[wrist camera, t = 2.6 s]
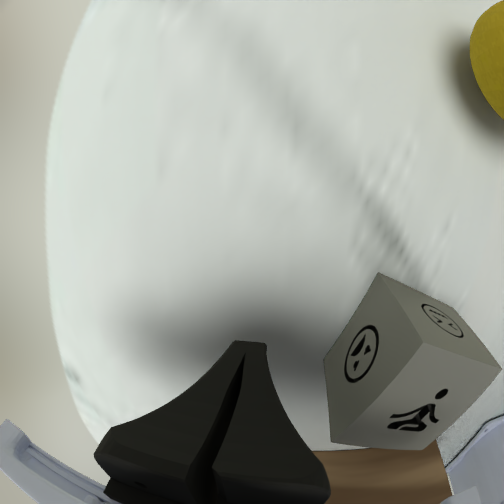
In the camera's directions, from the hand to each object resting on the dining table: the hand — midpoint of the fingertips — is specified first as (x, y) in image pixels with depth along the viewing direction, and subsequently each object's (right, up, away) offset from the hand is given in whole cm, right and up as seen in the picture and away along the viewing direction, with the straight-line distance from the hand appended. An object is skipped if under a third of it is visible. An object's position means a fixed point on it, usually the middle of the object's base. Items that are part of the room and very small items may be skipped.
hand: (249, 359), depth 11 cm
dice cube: (+7, +1, +1) cm, 7 cm away
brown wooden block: (+7, -10, +4) cm, 13 cm away
